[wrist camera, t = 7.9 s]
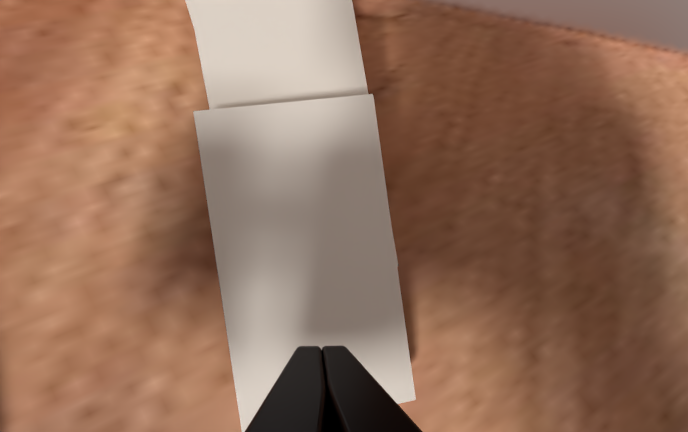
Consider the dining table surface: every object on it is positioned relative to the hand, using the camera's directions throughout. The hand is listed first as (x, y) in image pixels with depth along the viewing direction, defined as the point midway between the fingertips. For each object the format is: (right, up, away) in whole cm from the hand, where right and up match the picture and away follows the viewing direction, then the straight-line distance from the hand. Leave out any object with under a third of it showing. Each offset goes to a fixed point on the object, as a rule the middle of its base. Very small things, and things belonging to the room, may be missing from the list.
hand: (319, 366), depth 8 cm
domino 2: (0, +1, +7) cm, 7 cm away
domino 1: (0, -3, +6) cm, 6 cm away
